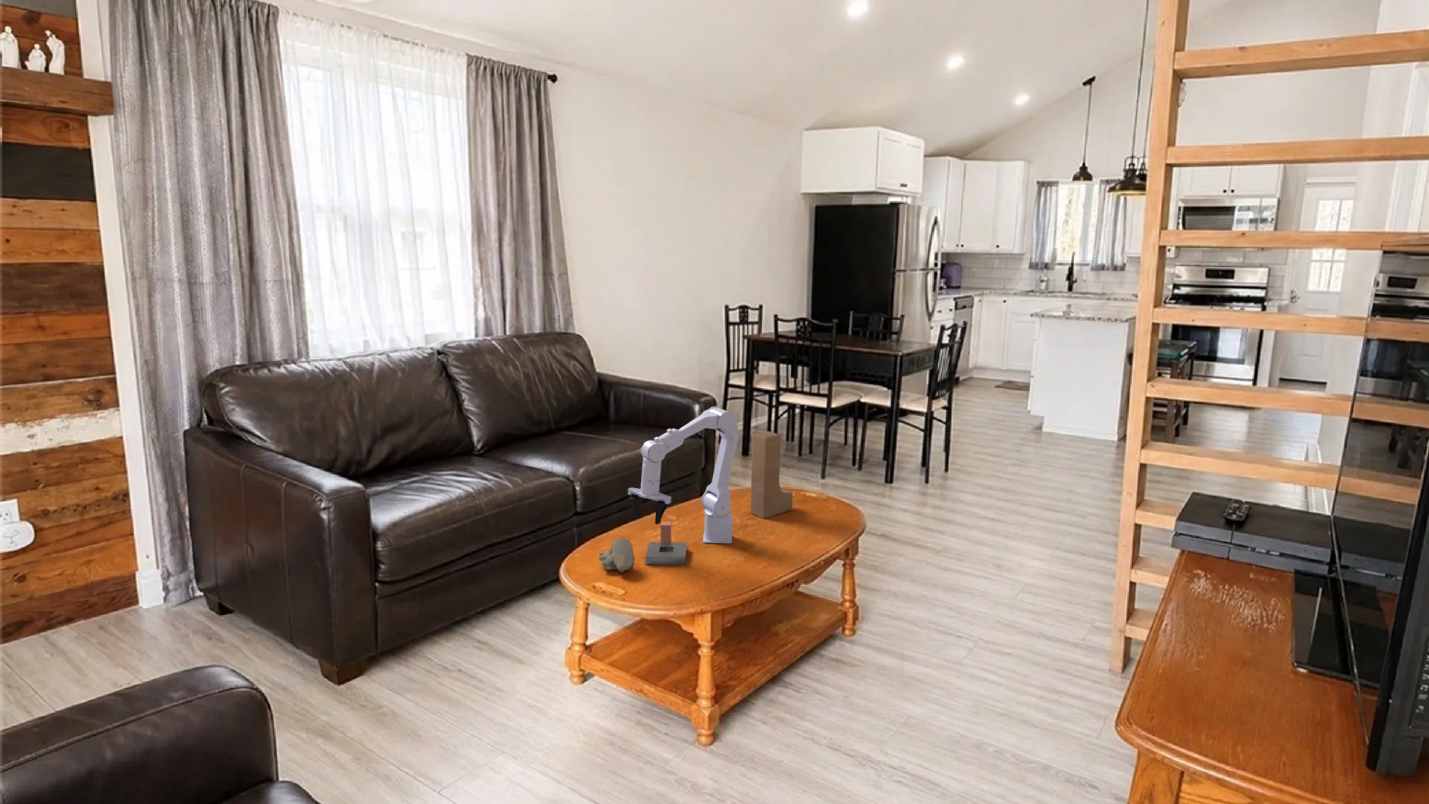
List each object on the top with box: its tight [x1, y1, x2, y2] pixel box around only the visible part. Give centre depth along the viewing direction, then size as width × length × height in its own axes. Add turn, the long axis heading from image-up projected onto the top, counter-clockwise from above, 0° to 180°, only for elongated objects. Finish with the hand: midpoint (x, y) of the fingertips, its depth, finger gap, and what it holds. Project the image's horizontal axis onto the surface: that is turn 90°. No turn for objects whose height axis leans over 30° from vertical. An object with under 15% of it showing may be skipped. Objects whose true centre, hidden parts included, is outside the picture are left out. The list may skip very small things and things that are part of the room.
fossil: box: [598, 536, 636, 573], centre depth 244 cm, size 14×10×10 cm
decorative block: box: [750, 430, 794, 519], centre depth 294 cm, size 8×15×30 cm, turn 132°
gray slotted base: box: [644, 541, 688, 566], centre depth 254 cm, size 12×12×2 cm
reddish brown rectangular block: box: [660, 521, 672, 542], centre depth 265 cm, size 3×3×7 cm
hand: (647, 520), depth 256 cm, fingers open, 7 cm apart
